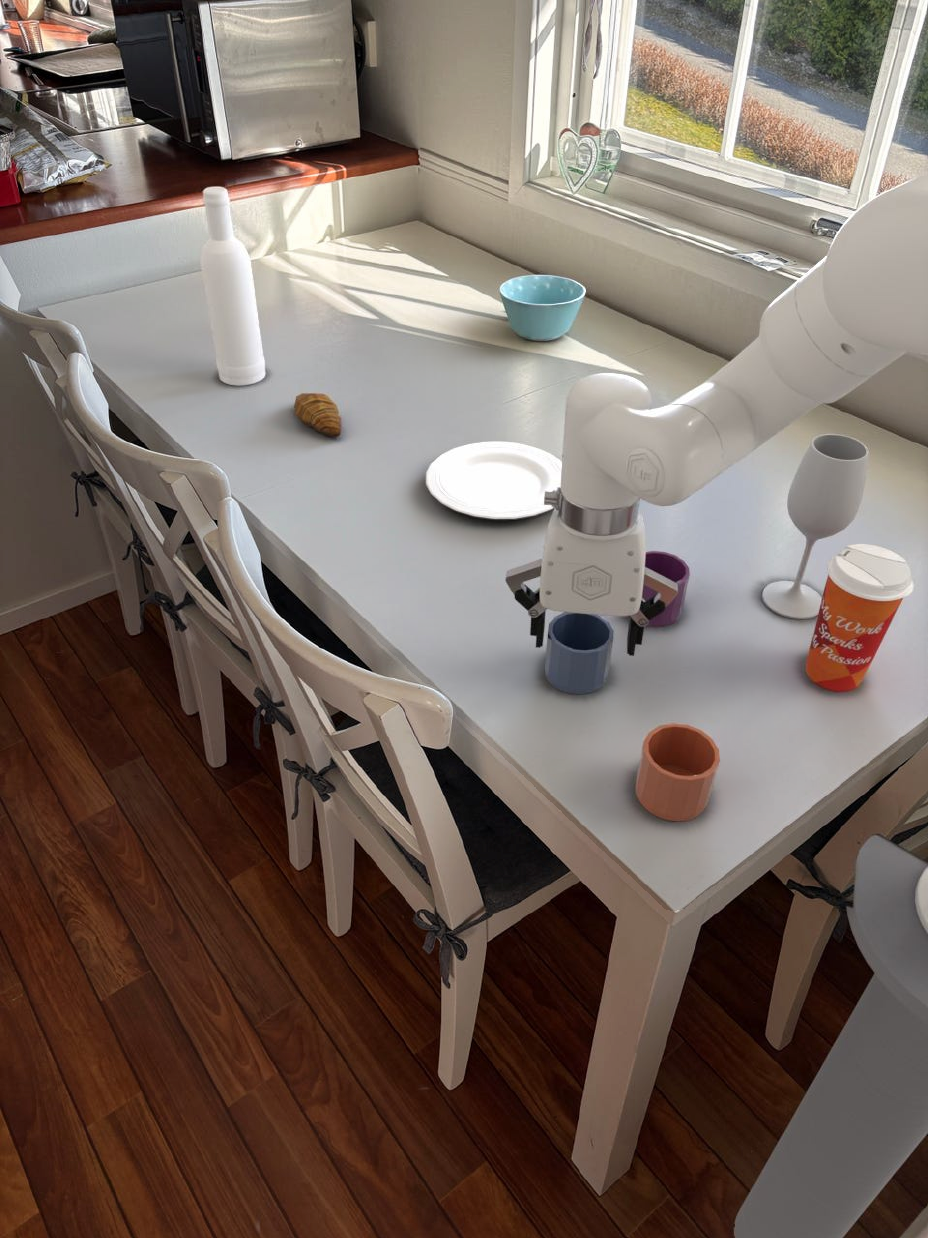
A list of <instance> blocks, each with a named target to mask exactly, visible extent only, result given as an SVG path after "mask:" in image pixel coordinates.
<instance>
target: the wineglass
mask: <svg viewBox="0 0 928 1238" xmlns="http://www.w3.org/2000/svg"><path fill="white" fill-rule="evenodd" d="M869 457H870V451H869V448H868V446H867V445H866V444H865V443H863V442H862V441H861V440H859V439H856V438H854V437H851V436H848V435H844V434H839V433H825V434H819V435H817V436H815V437H814V438H813V439H812V440H811V442H810V443H809V445H808V447H807V449H806V451H805V453H804V455H803V457H802V459H801V461H800V463H799V466H798V467H797V470H796V472H795V474H794V476H793V479H792V481H791V484H790V486H789V489H788V493H787V500H786V506H787V513H788V516H789V518H790V520H791V521H792V523H793V525H794V527H795V528H796V529H797V530H798V531H799V532H800V533H801V534H802V535H803V536H804V537H805V538H806V541H805V548H804V551H803V554H802V557H801V561H800V563H799V566H798V570H797V574H796V577H795V580H794V581H791V580H778V581H777V580H776V581H774V582H771V583H769V584H767V585H766V586H765V587H764V588H763V590H762V593H761V598H762V601H763V603H764V604H765V606H766V607H767V608H768V609H769V610H771V611H772V612H774V613H776V614H777V615H780V616H782V617H785V618H789V619H794V620H809V619H811V618H812V619H813V618H816V617H818V613H819V609H820V604H821V600H822V596H821V595H820V594H819V593H818V592H817V591H816V590H815V589H814V588H812V587H810V586H808V585H806V584H804V583H802V581H803V578H804V576H805V575H804V574H805V572H806V570H807V566H808V563H809V558H810V556H811V553H812V550H813V547H814V545H815V543H816V542H817V541H818V540H821V539H822V540H823V539H826V538H829V537H833V536H834V535H837V534H838V533H841V532H842V531H844V530H845V529H847V527H848V526H849V525H850V524H852V522H853V521H854V520H855V518H856V516H857V515H858V511H859V509H860V507H861V504H862V500H863V496H864V492H865V491H864V490H865V485H866V480H867V476H868V475H867V474H868V467H869Z"/></svg>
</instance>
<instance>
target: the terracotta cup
mask: <svg viewBox="0 0 928 1238" xmlns="http://www.w3.org/2000/svg"><path fill="white" fill-rule="evenodd" d="M720 756H721V755H720V749H719V747H718V746H717V744H716V743H715V741H714V739H713V738H712V737H711V736H709V735H708V734H707V733H706V732H704V731H703V730H701V729H699V728H697V727H694V726H692V725H689V724H685V723H684V724H683V723H675V722H673V723H667V724H661V725H658V726H656V727H655V728H653V729H652V730H650V731H649V732H648V733H647V734H646V736H645V738H644V740H643V743H642V749H641V752H640V757H639V758H640V759H639V763H638V767H637V773H636V778H635V787H634V788H635V789H634V790H635V795H636V798H637V800H638V802H639V804H641V806H642V807H643V808H644V809H645V810H646V811H648V812H649V813H650V814H651V815H653V816H655V817H656V818H660V819H662V820H666V821H670V822H686V821H690V820H693V819H695V818H697V817H699V816H700V815H701V814H702V813H703V812H704V811H705V809H706V808H707V805H708V802H709V800H710V797H711V793H712V790H713V787H714V783H715V780H716V776H717V773H718V769H719V766H720V762H721V757H720Z"/></svg>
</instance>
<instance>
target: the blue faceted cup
mask: <svg viewBox="0 0 928 1238" xmlns="http://www.w3.org/2000/svg"><path fill="white" fill-rule="evenodd" d="M614 632H615V631H614V628H613V627H612V625H611V624H610V622H609V621H608V620H607V619H605V618H604V617H602V615H593V614H581V613H569V612H561V613H560V614H558V615H556V616H554V617H553V618H552V620H551V621H550V622H549V623H548V627H547V638H546V639H547V640H546V648H545V649H546V650H545V658H544V659H545V660H544V676H545V678H546V680H547V681H548V682H549V684H550V685H551V686H552V687H554V688H556V689H557V690H559V691H561V692H563V693H567V694H571V695H572V694H573V695H586V694H590V693H594V692H595V691H598V690H599V689H601V688H602V687H603V686H604V685H605V683H606V682H607V679H608V677H609V670H610V663H611V658H612V657H611V656H612V649H613V645H614V644H613V643H614Z"/></svg>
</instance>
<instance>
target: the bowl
mask: <svg viewBox="0 0 928 1238" xmlns="http://www.w3.org/2000/svg"><path fill="white" fill-rule="evenodd" d="M498 290H499V291H498V292H499V295H500V299H501V302H502V305H503V308H504V311H505V315H506V317H507V321H508V323H509V326H510V328H511V330H513V331H514V332H515V333H516V334H517V335H518V336H519V337H520V338H523V339H525V340H528V341H533V342H534V341H535V342H548V341H549V342H550V341H554V340H557V339H559V338H561V337H563V335H565V334H567V333H568V332H569V331H570V329H571V327H572V326H573V323H574V321H575V319H576V317H577V315H578V313H579V310H580V308H581V306H582V303H583V301H584V298H585V296H586V292H587V291H586V288H585V286H584V285H582V284H581V283H579V282H578V281H576V280H573V279H571V278H568V277H564V276H559V275H552V274H551V275H550V274H529V275H522V276H517V277H513V278H510V279H508V280H506V281H504V282H503V283H502V284H500V286H499V289H498Z"/></svg>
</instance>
